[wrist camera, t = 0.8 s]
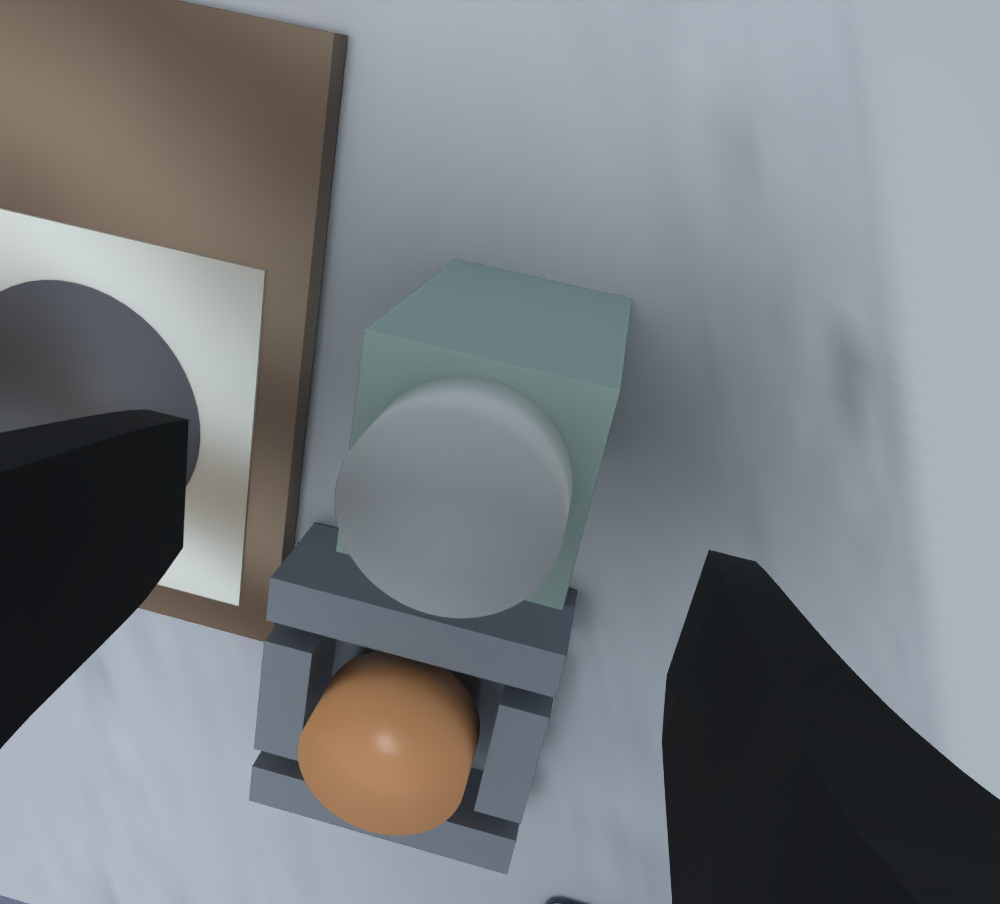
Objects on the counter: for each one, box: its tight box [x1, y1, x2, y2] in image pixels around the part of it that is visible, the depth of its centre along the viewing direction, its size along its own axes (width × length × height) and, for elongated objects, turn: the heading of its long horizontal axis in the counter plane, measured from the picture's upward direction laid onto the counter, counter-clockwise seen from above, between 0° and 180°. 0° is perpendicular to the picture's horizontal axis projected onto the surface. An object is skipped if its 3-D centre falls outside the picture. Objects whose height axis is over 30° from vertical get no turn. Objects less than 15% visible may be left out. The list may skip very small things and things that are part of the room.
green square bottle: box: [335, 259, 632, 618], centre depth 16 cm, size 4×4×8 cm
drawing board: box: [0, 0, 347, 642], centre depth 21 cm, size 15×11×1 cm
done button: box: [298, 651, 480, 836], centre depth 20 cm, size 4×4×2 cm
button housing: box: [249, 523, 577, 874], centre depth 22 cm, size 7×7×3 cm
